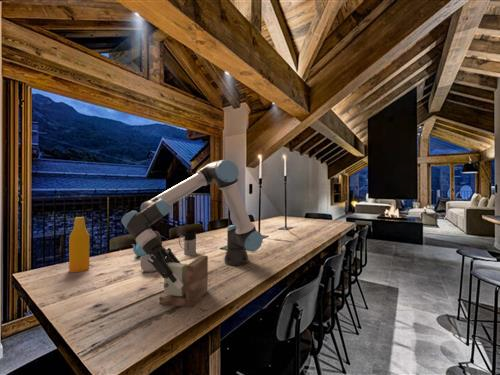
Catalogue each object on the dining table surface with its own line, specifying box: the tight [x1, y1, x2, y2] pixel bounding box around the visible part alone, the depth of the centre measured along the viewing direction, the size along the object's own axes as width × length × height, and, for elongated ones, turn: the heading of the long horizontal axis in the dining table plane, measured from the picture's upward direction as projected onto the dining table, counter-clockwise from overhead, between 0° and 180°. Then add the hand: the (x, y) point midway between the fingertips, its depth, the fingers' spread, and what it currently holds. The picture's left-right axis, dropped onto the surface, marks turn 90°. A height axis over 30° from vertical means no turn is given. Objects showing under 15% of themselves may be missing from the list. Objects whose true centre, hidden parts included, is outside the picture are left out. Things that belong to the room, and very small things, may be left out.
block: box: [163, 262, 188, 298], centre depth 97 cm, size 8×5×12 cm, turn 77°
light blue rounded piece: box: [131, 240, 147, 258], centre depth 156 cm, size 13×13×10 cm
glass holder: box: [178, 230, 197, 256], centre depth 160 cm, size 9×14×15 cm, turn 148°
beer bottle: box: [68, 216, 90, 273], centre depth 130 cm, size 9×9×29 cm
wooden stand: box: [159, 254, 209, 308], centre depth 100 cm, size 14×14×16 cm
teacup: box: [139, 254, 157, 273], centre depth 132 cm, size 14×11×8 cm
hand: (184, 284), depth 97 cm, fingers closed on block, 4 cm apart
